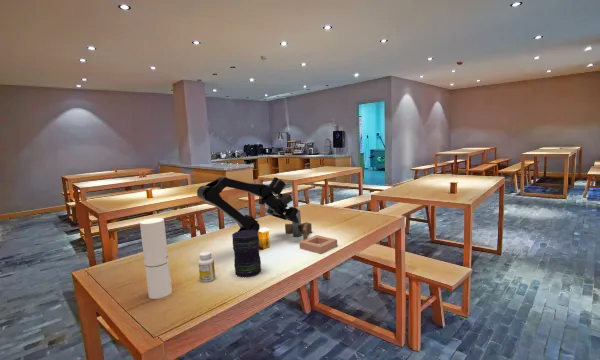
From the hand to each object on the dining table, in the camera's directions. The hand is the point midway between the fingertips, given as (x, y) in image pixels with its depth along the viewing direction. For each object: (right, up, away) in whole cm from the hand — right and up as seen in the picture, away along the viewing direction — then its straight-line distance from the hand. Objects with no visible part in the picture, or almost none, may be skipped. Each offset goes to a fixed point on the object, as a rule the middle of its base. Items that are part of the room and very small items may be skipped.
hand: (292, 220), depth 158 cm
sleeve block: (+12, -10, -15) cm, 22 cm away
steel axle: (+2, -8, +3) cm, 9 cm away
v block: (+5, -8, +5) cm, 10 cm away
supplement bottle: (-30, -16, -42) cm, 54 cm away
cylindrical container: (-43, -18, -52) cm, 70 cm away
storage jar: (-16, -15, -38) cm, 44 cm away
